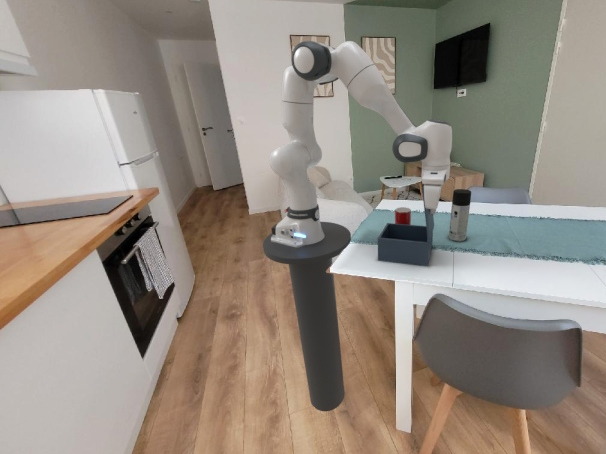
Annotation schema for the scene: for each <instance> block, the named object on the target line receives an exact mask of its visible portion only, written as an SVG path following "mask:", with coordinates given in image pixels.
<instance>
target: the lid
mask: <svg viewBox="0 0 606 454" xmlns="http://www.w3.org/2000/svg"><path fill="white" fill-rule="evenodd" d="M422 185H423V186H422V188H421V192H422V200H423V210H424V219H425V220H424V221H425V226H426V229H427V238H428V242H430V241H431V237H432V233H433V234H434V229H435V218H434V215H433V214H430V209H426V208H425V201H424V184H422Z"/></svg>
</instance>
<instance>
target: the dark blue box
mask: <svg viewBox="0 0 606 454" xmlns="http://www.w3.org/2000/svg"><path fill="white" fill-rule="evenodd" d="M433 236H434V232H433V233H432V237H431V241H430V242H428V238H427V229H426V225H417V224H416V225H415V224H411V225H406V224H395V223H392V222H386V224H385V225H384V228H382V230H381V232H380V234H379V236H378V237H377V261H380V262H387V263H397V264H405V265H412V266H413V265H414V266H421V267H429V262H430V259H431V253H432V249H433Z"/></svg>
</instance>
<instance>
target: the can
mask: <svg viewBox="0 0 606 454" xmlns="http://www.w3.org/2000/svg"><path fill="white" fill-rule="evenodd" d="M411 219H412V210H411V208H409V207H405V206H404V207H403V206H401V207H397V208H395V210H394V224H406V225H412V220H411Z"/></svg>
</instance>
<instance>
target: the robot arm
mask: <svg viewBox="0 0 606 454" xmlns="http://www.w3.org/2000/svg"><path fill="white" fill-rule="evenodd" d="M290 60H291V65H290V66H288V67H286V68H285V70H284V71H283V74H282V80H281V89H280V90H281V91H280V104H281V105H280V107H281V109H280V111H281V125H282V126H283V128H284V129H285V130H286V131H287V134H288V137H289V143H286V144H282V145H280V146H279V147H277V148H275V149H274V150H272V151H271V153H270V155H269V161H268V162H269V165H270V168H271V170H272V171H273V172H274V174H276V175H277V176H278V177H280V179H281V180H282V182H283V184H284V186H285V189H286V193H287V199H288V205H289V206H288V207H286V208H285V209H284V214H286V213H287V214H286V216H285V217H284V218H282V219H281V220H280V221H279V222H278V223H275V224H274V225H273V226H272V227H271V228H270V230H271V233H272V234H274V235H273V236H272V237H271V241H272V242H276V243H280V244H284V245H288V246H292V247H296V248H298V247H302V246H304V245H310V244H314V243H317V242H319V241H321V240H322V239H324V237H325V235H324V233H323V230H322V227H321V223H320V222H321V219H320V207H319V203H318V196H317V189H316V185H315V184H314V183H313V182H312V181H311V180H310V178H309V175H308V170H310V169H313V168H315V167H316V166H317V165H318V164H319V163H320V162H321V160H322V157H323V151H322V148H321V147H320V145H319V144H318V142H317V138H316V134H315V128H314V127H315V126H314V101H315V99H314V97H315V96H314V95H315V90H316V87H317V85H319V86H323V85H327V84H332V83H333V82H336V81H338V80H340V82H342V84H343V85H344V87H345V89H346V90H347V91H348V93H349V94H350V96H351V97H352V98H353V99H354V100H355V101H356V102H357V103H358V104H359V105H360V106H362V107H363V108H366V109H368V110H371V111H373V112H376V113H377V114H379V115H380V116H382V117H383V119H385V121H386V122H387V123H388V125H389V126H390V127H391V129H392V130H393V131H394V132H395V134H396V135H397V137H395V139H394V140H393V142H392V147H391V149H392V154H393V156H394V157H395V159H396V160H397V161H399V162H401V163H405V164H411V163H415V162H421V174H420V175H421V183H422V185H424V201H425V208H426V209H430V214H433V216H434V215H436V212H437V209H438V207H439V202H440V199H441V194H442V191H443V186H444V185H445V184H446V181H448V180H449V179H450V175H451V173H450V172H451V158H450V157H451V152H452V148H453V128H452V126H451V124H450V123H449V122H448V121H446V120H442V119H434V118H430V119H427V120H426V121H424V122H423V123H421V124H420V125H418V126H417V125H415V124H414V122H412V120H411V119H410V118H409V116H408V115H407V113H406V112H405V111H404V110H403V109H402V106H400V104H399V103H398V102H397V100H396V98H395V97H394V95H393V93H392V92H391V90H390V88H389V86H388V84H387V83H386V81H385V79H384V77H383V75H382V73H381V72H380V70H379V68H378V67H377V66H376V64H375V62H374V61H373V60H372V59H371V57H370V56H369V55H368V54H367V52H365V50H364V49H363V48H362V47H361V46H360V45H358V44H357V42H355V41H352V40H347V41H344V42H342V43H340V44H339V45H338V46H337V47H336V48H335V47H332V46H330V45H328V44H325V43H323V42H317V41H313V40H303V41H301V42H299V43H297V44H296V45H295V47H294V48H293V50H292V53H291V59H290Z"/></svg>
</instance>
